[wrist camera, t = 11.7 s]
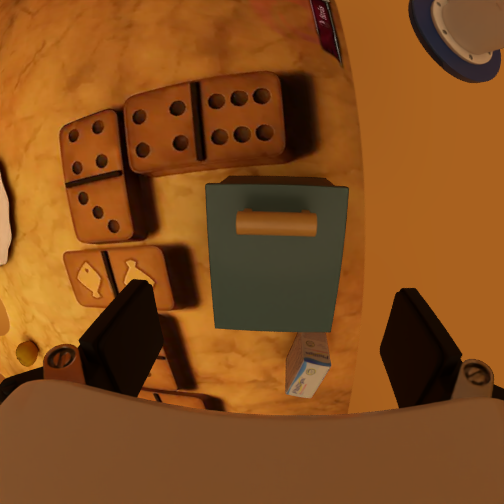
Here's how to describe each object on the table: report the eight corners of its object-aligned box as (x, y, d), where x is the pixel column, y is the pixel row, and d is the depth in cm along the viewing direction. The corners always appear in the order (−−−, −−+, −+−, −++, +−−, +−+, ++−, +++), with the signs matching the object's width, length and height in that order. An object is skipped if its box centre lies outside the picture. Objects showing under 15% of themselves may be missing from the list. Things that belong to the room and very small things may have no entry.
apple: (29, 333, 54) (13, 350, 47) (44, 351, 56) (29, 369, 49) (24, 339, 56) (8, 355, 49) (38, 356, 58) (23, 373, 51)
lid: (207, 183, 25) (190, 193, 20) (347, 186, 24) (363, 197, 19) (216, 324, 31) (206, 354, 26) (329, 328, 30) (336, 359, 25)
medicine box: (308, 362, 47) (311, 399, 39) (285, 358, 47) (284, 395, 39) (325, 329, 44) (332, 366, 36) (300, 324, 44) (303, 361, 36)
